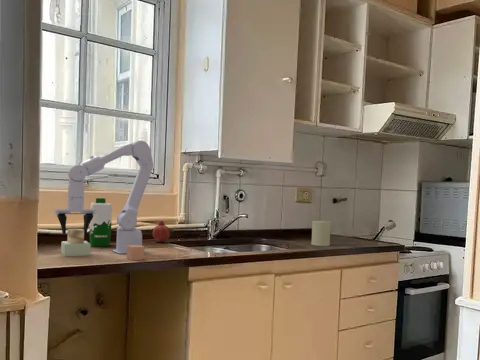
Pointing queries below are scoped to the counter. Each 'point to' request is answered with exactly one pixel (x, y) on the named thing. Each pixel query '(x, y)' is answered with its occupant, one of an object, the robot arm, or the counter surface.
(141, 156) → the robot arm
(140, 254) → the terracotta cube
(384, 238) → the counter surface
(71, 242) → the maple cube
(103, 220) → the milk carton
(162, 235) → the fruit
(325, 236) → the can
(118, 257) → the counter surface
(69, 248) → the sage block
